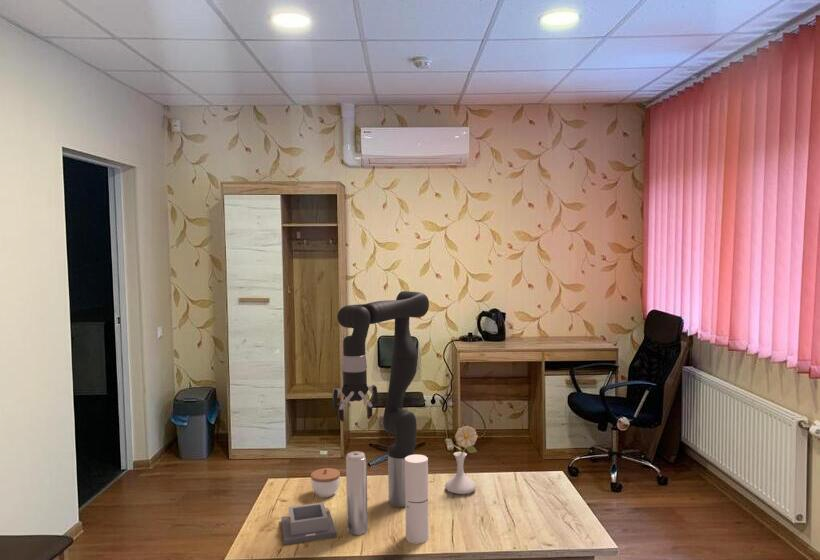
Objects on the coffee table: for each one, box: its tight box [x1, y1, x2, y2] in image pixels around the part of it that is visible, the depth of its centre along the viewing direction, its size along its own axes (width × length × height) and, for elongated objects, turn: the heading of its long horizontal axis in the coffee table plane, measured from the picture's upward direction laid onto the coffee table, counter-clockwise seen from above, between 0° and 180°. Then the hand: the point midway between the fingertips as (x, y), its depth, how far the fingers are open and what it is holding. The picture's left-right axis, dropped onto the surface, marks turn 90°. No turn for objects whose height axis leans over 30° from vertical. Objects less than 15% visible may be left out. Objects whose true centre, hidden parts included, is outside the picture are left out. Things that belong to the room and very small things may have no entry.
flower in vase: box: [444, 425, 479, 495], centre depth 209 cm, size 13×11×25 cm
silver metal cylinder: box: [345, 451, 369, 536], centre depth 179 cm, size 6×6×25 cm
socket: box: [280, 502, 337, 546], centre depth 181 cm, size 16×16×6 cm
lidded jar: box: [310, 467, 341, 499], centre depth 208 cm, size 11×11×9 cm
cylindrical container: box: [404, 454, 430, 544], centre depth 174 cm, size 7×7×25 cm
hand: (355, 419), depth 178 cm, fingers open, 8 cm apart
